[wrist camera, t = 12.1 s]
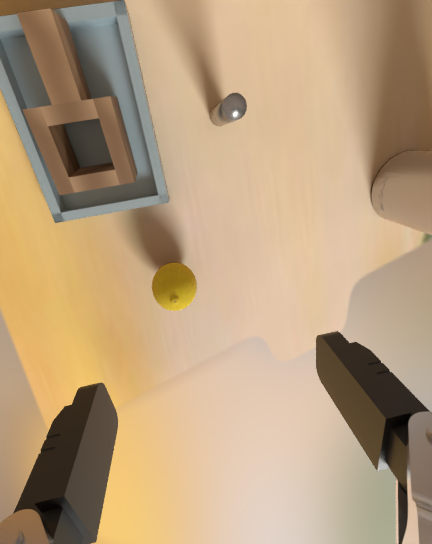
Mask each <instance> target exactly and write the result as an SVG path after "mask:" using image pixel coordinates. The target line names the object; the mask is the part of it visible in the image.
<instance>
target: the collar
mask: <svg viewBox="0 0 432 544" xmlns="http://www.w3.org/2000/svg"><path fill="white" fill-rule="evenodd" d="M17 15H18V18H19V21H20V23H21V26H22V28H23V31H24V34H25V36H26V39H27V41H28V44H29V47H30V49H31V52H32V54H33V57H34V60H35V62H36V65H37V67H38V70H39V73H40V75H41V78H42V80H43V83H44V86H45V88H46V91H47V94H48V96H49V99H50V101H51V104H52V105H49V106H42V107H36V108H29V109H23V112H24V115H25V117H26V119H27V122H28V124H29V126H30V128H31V131H32V133H33V135H34V138H35V140H36V142H37V144H38V147H39V149H40V151H41V154H42V156H43V158H44V160H45V163H46V165H47V167H48V170H49V172H50V174H51V176H52V179H53V181H54V183H55V186H56V188H57V190H58V193H59V195H64V194H70V193H76V192H81V191H87V190H93V189H99V188H105V187H110V186H116V185H122V184H128V183H133V182H135V179H136V176H137V173H138V172H137V168H136V164H135V161H134V157H133V153H132V150H131V146H130V142H129V139H128V135H127V131H126V128H125V124H124V120H123V117H122V113H121V109H120V106H119V102H118V98H117V97H116V96H108V97H102V98H95V99H91V95H90V92H89V89H88V86H87V83H86V79H85V76H84V73H83V70H82V67H81V64H80V60H79V57H78V54H77V51H76V48H75V45H74V41H73V38H72V35H71V32H70V29H69V26H68V22H67V21H66V20H64V19H63V18H62V17H61V16H59V15H58V14H57V13H56V12H54V11H53V10H52V9H51V8H49V9H41V10H33V11H26V12H18V13H17ZM97 118H99V120H100V123H101V127H102V130H103V133H104V136H105V139H106V143H107V146H108V149H109V152H110V155H111V159H112V162H113V163H107V164H101V165H95V166H89V167H83V168H80V166H79V164H78V161H77V158H76V156H75V153H74V150H73V148H72V145H71V143H70V140H69V137H68V135H67V132H66V129H65V127H64V124H65V123H72V122H78V121H84V120H91V119H97Z"/></svg>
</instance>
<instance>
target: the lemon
mask: <svg viewBox="0 0 432 544" xmlns="http://www.w3.org/2000/svg"><path fill="white" fill-rule="evenodd" d="M152 290H153V295H154V297H155V299H156V301H157V302H158V303H159V304H160V305H161V306H162V307H163V308H165V309H168V310H173V311H175V310H181V309H184V308H185V307H187V306H188V305H189V304H190V303H191V302H192V300H193V299H194V297H195V293H196V279H195V276H194V274H193V273H192V271H191V270H190V269H189V268H188V267H187V266H185V265H183V264H180V263H168V264H166V265H164V266H162V267H161V268H160V269H159V270H158V271H157V272H156V274H155V276H154V278H153V282H152Z"/></svg>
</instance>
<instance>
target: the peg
mask: <svg viewBox="0 0 432 544" xmlns="http://www.w3.org/2000/svg"><path fill="white" fill-rule="evenodd" d="M246 107H247V105H246V101H245V99H244V97H243V96H242V95H241V94H239V93H232V94H230V95H228V96H227V97H226V98H225V99H224V100H222V101H221V102H220V103H219V104H218V105H217V106H216V107H214V108H213V109H212V111H211V114H210V119H211V121H212V123H213V124H214V125H216V126H222V125H225V124H227V123H230V122H233V121H235V120H238V119H240V118H242V117H243V115H244V114H245V112H246Z"/></svg>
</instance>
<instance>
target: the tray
mask: <svg viewBox="0 0 432 544" xmlns="http://www.w3.org/2000/svg"><path fill="white" fill-rule="evenodd" d="M52 10H53V11H54V12H56V13H57V14H58V15H59V16H61V17H62V18H63V19H64V20H66V21H67V22H68V26H69V29H70V32H71V35H72V38H73V41H74V45H75V48H76V51H77V54H78V57H79V60H80V64H81V67H82V70H83V73H84V76H85V79H86V83H87V86H88V89H89V92H90V95H91V99H95V98H102V97H108V96H116V97H117V98H118V102H119V106H120V109H121V113H122V117H123V120H124V124H125V128H126V131H127V135H128V139H129V142H130V146H131V150H132V153H133V157H134V161H135V164H136V168H137V172H138V173H137V176H136V179H135V182H133V183H128V184H122V185H116V186H110V187H105V188H99V189H93V190H87V191H81V192H76V193H70V194H64V195H59V193H58V190H57V188H56V186H55V183H54V181H53V179H52V176H51V174H50V172H49V170H48V167H47V165H46V163H45V160H44V158H43V156H42V154H41V151H40V149H39V147H38V144H37V142H36V140H35V138H34V135H33V133H32V131H31V128H30V126H29V124H28V122H27V119H26V117H25V115H24V112H23V109H29V108H36V107H42V106H49V105H52V104H51V101H50V99H49V96H48V94H47V91H46V88H45V86H44V83H43V80H42V78H41V75H40V73H39V70H38V67H37V65H36V62H35V60H34V57H33V54H32V52H31V49H30V47H29V44H28V41H27V39H26V36H25V34H24V31H23V28H22V26H21V23H20V21H19V18H18V15H17V14H14V15H6V16H0V89H1V91H2V94H3V96H4V99H5V101H6V103H7V106H8V108H9V111H10V113H11V116H12V118H13V121H14V123H15V126H16V128H17V130H18V133H19V135H20V138H21V140H22V143H23V145H24V148H25V150H26V153H27V155H28V157H29V160H30V162H31V165H32V167H33V170H34V172H35V175H36V177H37V180H38V182H39V184H40V187H41V189H42V192H43V194H44V197H45V199H46V202H47V204H48V206H49V209H50V211H51V214H52V216H53V219H54V221H55V223H58V222H63V221H69V220H75V219H80V218H86V217H91V216H97V215H102V214H108V213H113V212H119V211H124V210H130V209H135V208H141V207H146V206H152V205H157V204H163V203H168V202H169V196H168V191H167V186H166V182H165V177H164V173H163V168H162V164H161V159H160V155H159V150H158V146H157V141H156V136H155V132H154V127H153V123H152V118H151V114H150V109H149V105H148V100H147V95H146V91H145V86H144V82H143V77H142V73H141V68H140V64H139V59H138V55H137V50H136V45H135V41H134V36H133V32H132V27H131V23H130V18H129V14H128V10H127V7H126V4H125V1H124V0H120V1H113V2H105V3H98V4H90V5H82V6H75V7H67V8H60V9H52ZM64 127H65V129H66V132H67V135H68V137H69V140H70V143H71V145H72V148H73V150H74V153H75V156H76V158H77V161H78V164H79V166H80V168H83V167H89V166H95V165H101V164H107V163H113V162H112V159H111V155H110V152H109V149H108V146H107V143H106V139H105V136H104V133H103V130H102V127H101V123H100V120H99V118H97V119H91V120H84V121H78V122H72V123H65V124H64Z"/></svg>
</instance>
